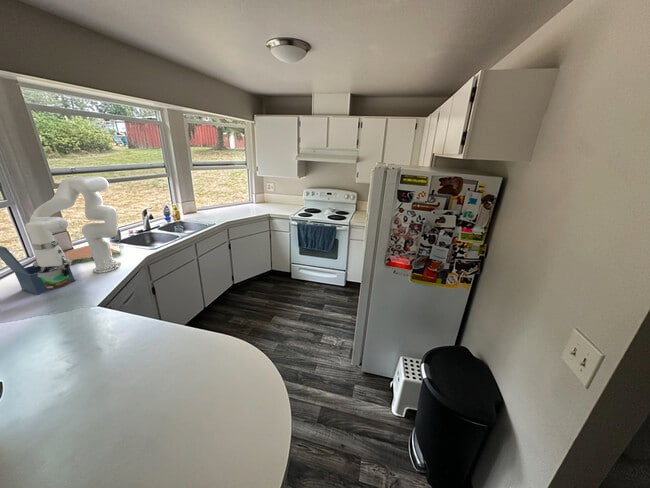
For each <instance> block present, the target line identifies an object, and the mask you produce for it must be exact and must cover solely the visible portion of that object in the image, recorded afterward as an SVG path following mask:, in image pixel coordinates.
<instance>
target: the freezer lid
mask: <svg viewBox="0 0 650 488" xmlns="http://www.w3.org/2000/svg"><path fill="white" fill-rule="evenodd" d="M0 259H1V261H2V262H4V264H5V265H6V266H7V267H8V268H9V269H10V270H11V271H12V272H14V271H16V272H19V273H23V274H26V275H30V273H29V272H28V271H27V270H26V269H25V268H26V267H24V265H22V264H21V263H20V261H19V260H18V259H17V258H16V257H15V255H13V254H12V253H11V252H10V250H9V249H8V248H7V247H5V246H1V245H0Z"/></svg>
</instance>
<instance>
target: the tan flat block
mask: <svg viewBox="0 0 650 488" xmlns="http://www.w3.org/2000/svg"><path fill="white" fill-rule="evenodd" d="M109 246H110V250H111V253H112V256H113V255H114V256H113V258H114V257H116V255H117V257H118V256H120V255H121V253H120V252H121V248H120V245H113V244H112V243H109ZM64 254H65V256H66V258H67V259H69V260H72V265H76V264H79V263H80V264H81V263H83V261H81V260H83V259H88V258H89V261H93V262H94V259H93V256H92V253H91V250H90V247H89V245H85V246H81V247H77V248H74V249H70V250H67V251H66V252H64ZM80 261H81V262H80ZM85 262H88V260H85ZM66 263H67V262H66Z"/></svg>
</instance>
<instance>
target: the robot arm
mask: <svg viewBox="0 0 650 488" xmlns="http://www.w3.org/2000/svg"><path fill="white" fill-rule="evenodd" d="M108 188H109V182H108V180H107V179H106V178H104V177H103V176H88V175H87V176H75V177H67V178H64V179H61V182H60V183H59V185H58V187H57V189H56V190H55V193H54V194H53V196H52V198H51V199H49V200H47V201H46V202H44V203H42V204H41V205H39V206H38V207H37V208H36V209H35V210H34V211H33V213H32V214H31V216H30V218H29V222H27V223H25V226H24V227H25V230H26V231H27V234H28V235H29V238H30V241H31V243H32V245H33V247H34V250H33V252H34V257H35V260H36V261H34V262H33V263H32V265H33V266H35V267H37V268H38V269H40V270H41V271H43V273H44V272H46V271H48V270H50V269H48V267H51V266H60V267H61V268H62V269H63V270H62V272H63V274H64V276H65V277H66V276H68V275H69V274H70V272H69V269H68V267H71V265H72V264H73V262H72V260H69V259H67V258H66V256H65V254H64V253H65V251H63V249H62V248H61V247H60V246H59V242H56V240H55V237H54V235H53V233H59V232H62V231H65V230H66V229H67V228H68V227H69V222H68V220H67V219H66V218H64V217H61V216H53V215H54V214H56V213H58V212H60V211H65V210H67V209H70V208H72V207H74V206H75V203H76V201H77V199H78V198H79V195H80V194H81V195H82V196H83V198H84V216H85V218H86V220H89V221H92V222H90V223H86V224H84V225H82V227H81V233H82V235H83V237H84V238H85V240H86V243H87V244H88V246H89V247H90V250H91V253H92V256H93V257H92V260H93V263H94V265H95V267H94V268H93V272H94V273H97V274H101V273H107V272H111V271H114V270H117V269H118V268H119V267H121V266H122V262H121V261H118V262H117V261H116V260H115V259H114V256H113V253H111V250H110V246H109V244H110V243H109V241H108V239H111V238H115V237H117V235H118V232H119V223H118V220H119V219H118V211H117V210H116V208H115V207H114V206H111V205H104V199H103V196H102V195H101V194H100V192H105V191H107V190H108ZM66 262H67V264H66ZM32 265H31V266H32ZM63 265H64V266H65V267H64V266H63Z"/></svg>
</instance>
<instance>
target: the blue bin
mask: <svg viewBox="0 0 650 488" xmlns="http://www.w3.org/2000/svg"><path fill="white" fill-rule="evenodd" d="M66 264H67V263H66ZM56 267H59V266H51V267H48V269H53V268H56ZM24 268H25V269H26V270H27V271H28V272H29V273H30V275H26V274H23V273H19V272H16V271H13V272H14V274H15V277H16V279H17V281H18V284H19V285H20V288H21V290H22V291H25V292H29V293H32V294H35V295H40V294H43V293H46V292H49V291H51V290H53V289H47V287H46V286H45V284H44V283H43V281H42V280H41V278H40V277H38V273H43V271H41V270H40V269H38V268H37V267H35V266H33V265H30V266H29V265H28V266H26V267H24ZM68 269H69V272H70V274H69V275H68V276H69V280H70V283H73V282H76V280H75V278H74V275H73V272H72V270H71V266H69V267H68Z"/></svg>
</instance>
